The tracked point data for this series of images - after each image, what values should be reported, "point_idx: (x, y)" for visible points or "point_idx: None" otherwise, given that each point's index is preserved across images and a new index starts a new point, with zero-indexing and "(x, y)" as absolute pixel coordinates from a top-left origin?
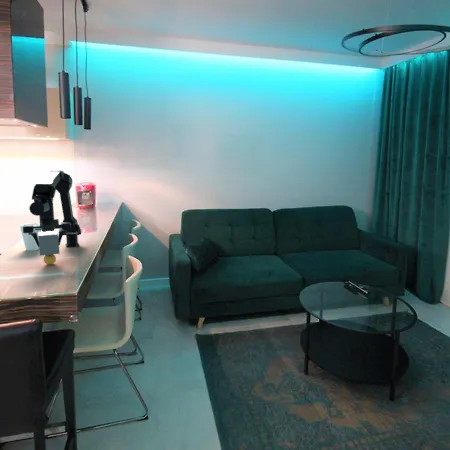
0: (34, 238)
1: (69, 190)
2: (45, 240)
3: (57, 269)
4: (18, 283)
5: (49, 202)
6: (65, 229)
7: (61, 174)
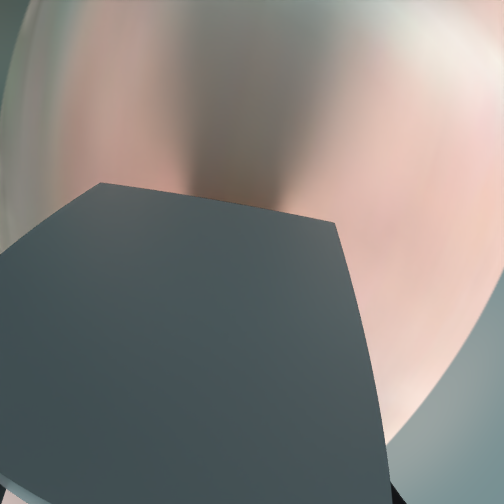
0: (395, 498)
1: None
2: (198, 387)
3: (199, 60)
4: None
5: None
6: None
7: None
